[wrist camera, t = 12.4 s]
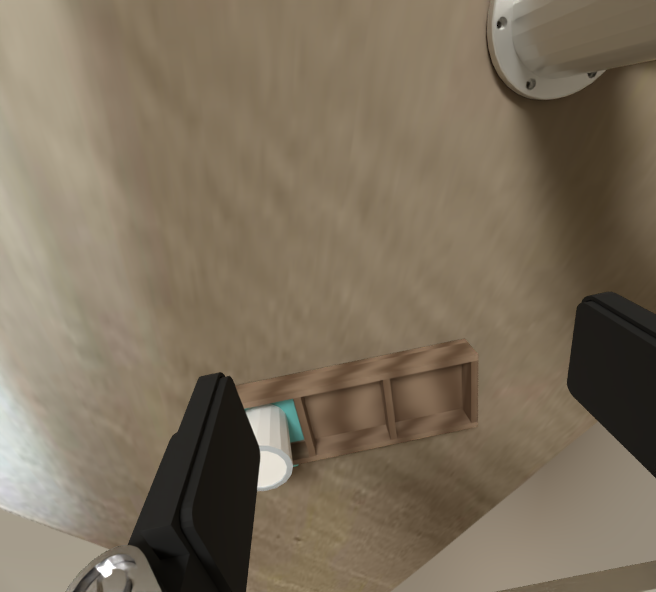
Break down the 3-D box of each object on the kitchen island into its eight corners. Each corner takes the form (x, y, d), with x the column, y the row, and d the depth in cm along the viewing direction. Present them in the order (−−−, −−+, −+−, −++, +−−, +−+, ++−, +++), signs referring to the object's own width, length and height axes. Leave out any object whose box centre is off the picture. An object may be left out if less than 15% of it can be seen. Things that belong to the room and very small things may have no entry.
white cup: (299, 405, 43) (301, 452, 37) (283, 446, 46) (282, 496, 40) (243, 394, 42) (235, 440, 36) (230, 436, 44) (220, 487, 38)
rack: (464, 338, 43) (478, 354, 40) (465, 410, 48) (477, 429, 45) (207, 391, 42) (200, 411, 39) (234, 458, 47) (231, 481, 44)
